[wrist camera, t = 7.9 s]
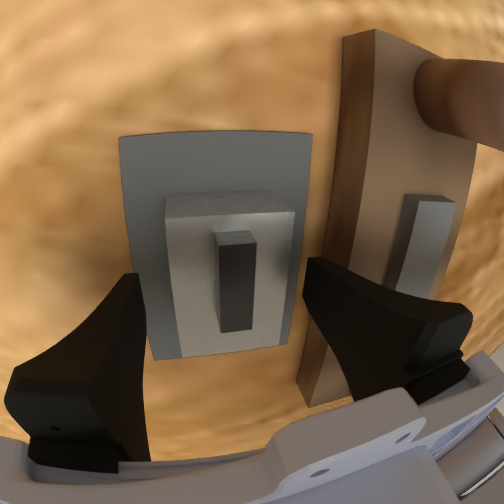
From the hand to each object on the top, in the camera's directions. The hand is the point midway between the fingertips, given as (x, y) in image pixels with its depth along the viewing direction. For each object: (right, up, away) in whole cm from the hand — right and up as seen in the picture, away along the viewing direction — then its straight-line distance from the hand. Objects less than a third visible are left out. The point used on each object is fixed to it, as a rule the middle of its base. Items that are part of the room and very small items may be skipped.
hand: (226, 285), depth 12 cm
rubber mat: (-1, +1, +2) cm, 2 cm away
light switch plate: (0, +1, +1) cm, 2 cm away
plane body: (+9, +2, +4) cm, 10 cm away
